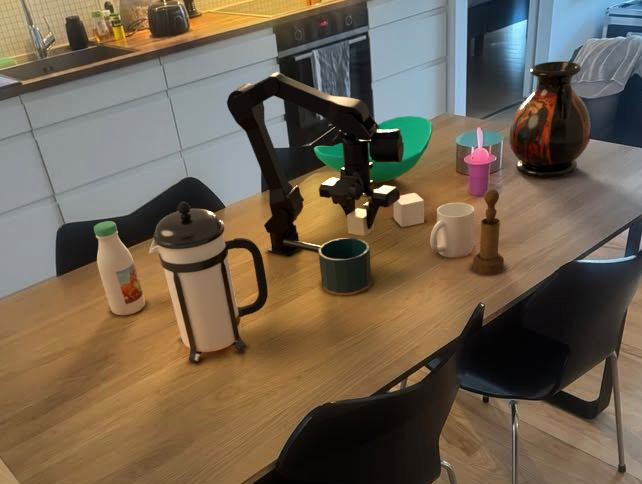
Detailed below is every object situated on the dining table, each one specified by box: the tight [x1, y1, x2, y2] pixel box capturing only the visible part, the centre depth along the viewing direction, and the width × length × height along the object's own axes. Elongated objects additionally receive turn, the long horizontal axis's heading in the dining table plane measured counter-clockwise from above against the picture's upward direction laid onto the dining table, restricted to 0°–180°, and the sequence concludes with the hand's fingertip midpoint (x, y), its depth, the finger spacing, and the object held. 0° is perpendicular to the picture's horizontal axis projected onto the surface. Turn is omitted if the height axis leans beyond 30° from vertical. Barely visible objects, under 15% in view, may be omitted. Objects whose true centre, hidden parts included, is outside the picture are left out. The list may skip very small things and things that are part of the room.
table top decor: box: [313, 115, 433, 185], centre depth 200 cm, size 40×28×13 cm
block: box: [346, 208, 375, 237], centre depth 159 cm, size 4×4×4 cm
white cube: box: [392, 192, 425, 228], centre depth 175 cm, size 6×6×6 cm
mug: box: [429, 202, 475, 259], centre depth 156 cm, size 12×8×10 cm
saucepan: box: [283, 237, 372, 296], centre depth 153 cm, size 11×22×8 cm, turn 54°
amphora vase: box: [508, 61, 592, 180], centre depth 187 cm, size 22×22×28 cm
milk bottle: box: [93, 220, 146, 316], centre depth 148 cm, size 8×8×20 cm
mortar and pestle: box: [472, 188, 505, 275], centre depth 146 cm, size 7×6×18 cm
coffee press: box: [148, 201, 269, 364], centre depth 129 cm, size 17×16×30 cm
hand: (360, 226), depth 160 cm, fingers closed on block, 4 cm apart
